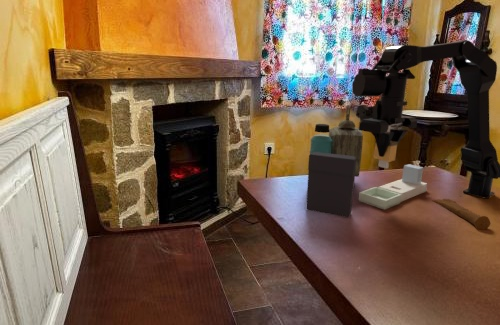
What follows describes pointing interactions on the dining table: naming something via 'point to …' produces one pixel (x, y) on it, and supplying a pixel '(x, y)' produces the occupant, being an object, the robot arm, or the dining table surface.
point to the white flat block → (405, 188)
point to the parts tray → (379, 198)
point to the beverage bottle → (321, 140)
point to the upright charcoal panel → (331, 183)
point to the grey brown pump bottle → (347, 140)
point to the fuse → (412, 174)
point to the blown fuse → (386, 154)
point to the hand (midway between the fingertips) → (384, 155)
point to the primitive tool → (465, 213)
